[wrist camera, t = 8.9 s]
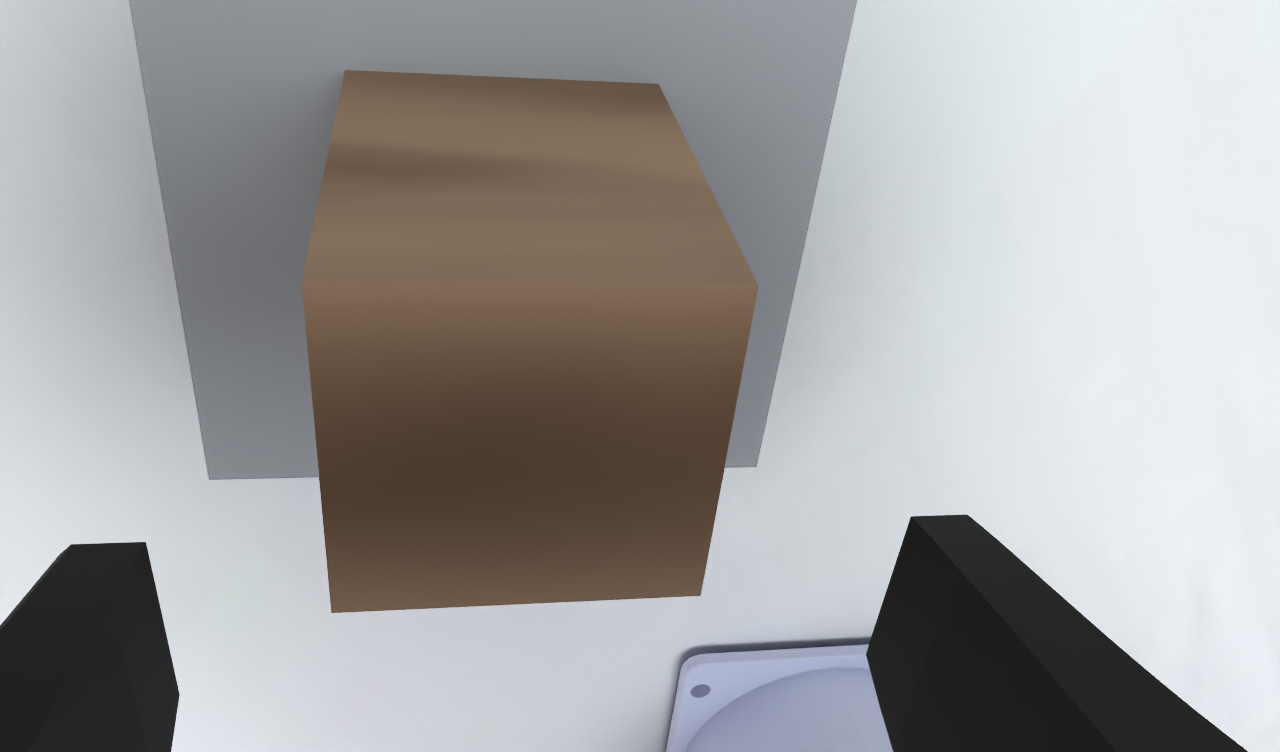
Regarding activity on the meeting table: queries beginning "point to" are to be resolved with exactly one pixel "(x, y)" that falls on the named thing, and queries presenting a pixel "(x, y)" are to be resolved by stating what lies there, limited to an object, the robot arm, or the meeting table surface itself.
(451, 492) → the walnut block
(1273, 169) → the meeting table surface
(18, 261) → the meeting table surface
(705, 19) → the grey block
